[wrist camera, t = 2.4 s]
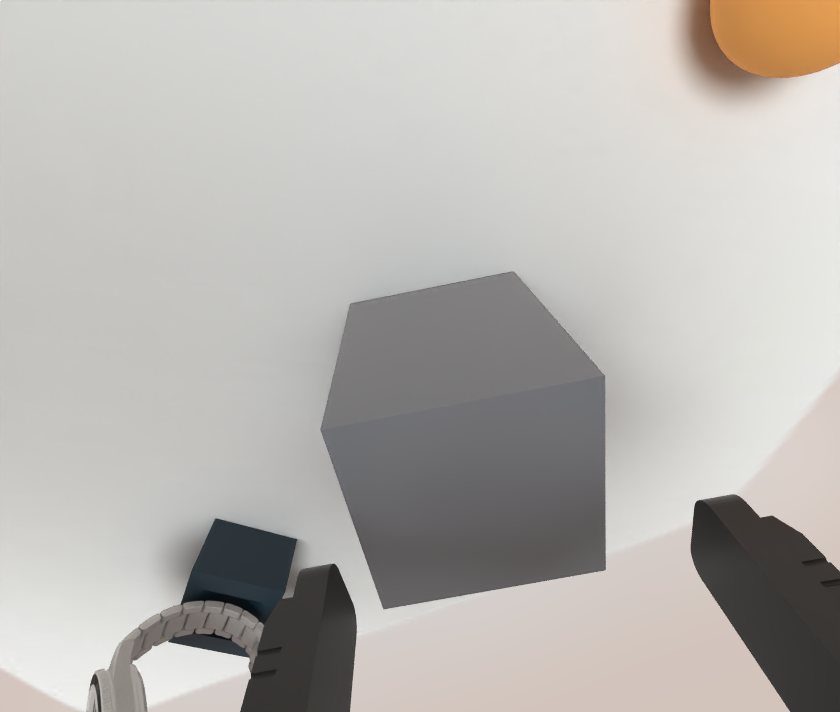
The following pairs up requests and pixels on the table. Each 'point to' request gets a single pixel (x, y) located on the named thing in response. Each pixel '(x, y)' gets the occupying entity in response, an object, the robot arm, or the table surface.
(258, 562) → the watch
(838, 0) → the ball
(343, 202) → the table surface
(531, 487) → the grey block
